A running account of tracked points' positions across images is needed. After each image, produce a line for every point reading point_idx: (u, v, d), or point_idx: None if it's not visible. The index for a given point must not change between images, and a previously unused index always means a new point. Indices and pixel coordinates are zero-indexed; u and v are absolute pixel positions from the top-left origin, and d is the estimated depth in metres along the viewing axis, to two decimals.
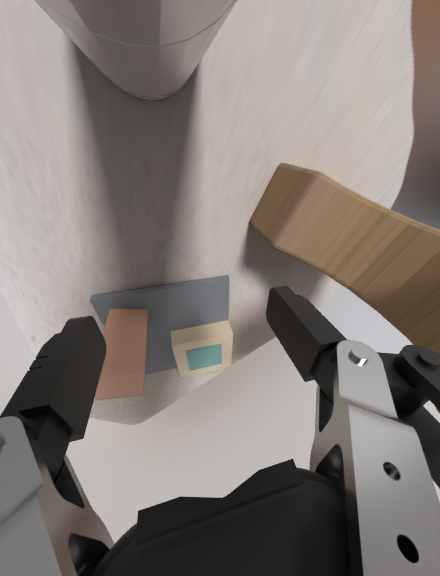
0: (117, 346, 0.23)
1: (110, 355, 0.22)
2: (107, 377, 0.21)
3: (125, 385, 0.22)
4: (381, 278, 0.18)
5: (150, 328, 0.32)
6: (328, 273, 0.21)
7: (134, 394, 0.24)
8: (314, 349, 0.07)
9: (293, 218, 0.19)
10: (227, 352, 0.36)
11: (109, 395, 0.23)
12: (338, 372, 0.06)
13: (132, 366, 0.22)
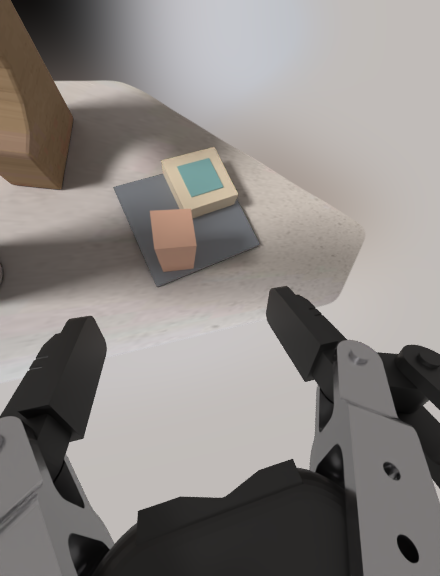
0: None
1: None
2: (158, 238, 0.24)
3: (171, 223, 0.24)
4: None
5: None
6: (19, 96, 0.25)
7: (189, 215, 0.25)
8: (314, 349, 0.07)
9: (1, 149, 0.26)
10: (191, 157, 0.35)
11: (189, 235, 0.24)
12: (338, 372, 0.06)
13: None
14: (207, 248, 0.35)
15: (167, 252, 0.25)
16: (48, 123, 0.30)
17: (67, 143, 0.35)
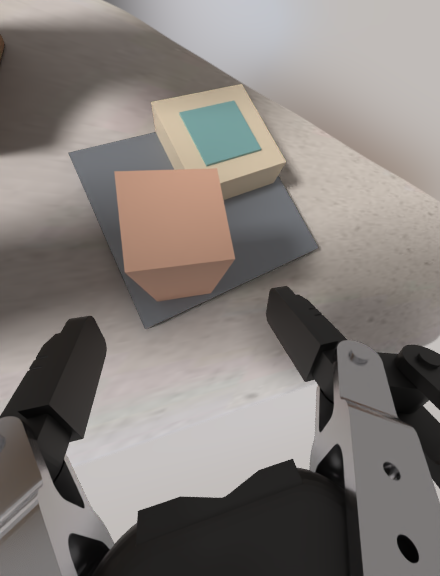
0: None
1: None
2: (135, 242, 0.09)
3: (171, 204, 0.10)
4: None
5: None
6: None
7: (213, 184, 0.10)
8: (314, 349, 0.07)
9: None
10: (203, 98, 0.20)
11: (215, 233, 0.10)
12: (338, 372, 0.06)
13: None
14: None
15: (161, 275, 0.10)
16: None
17: None
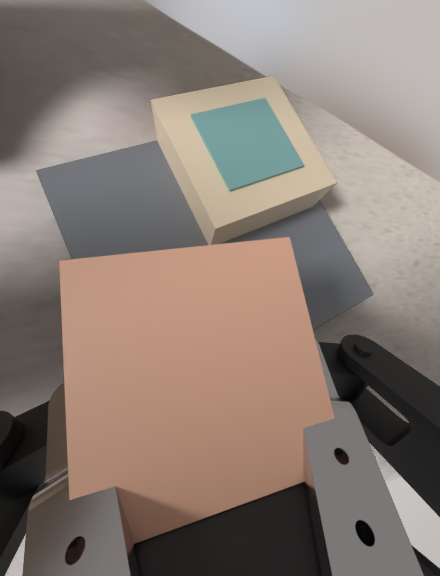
0: None
1: None
2: (106, 458, 0.03)
3: (195, 336, 0.04)
4: None
5: None
6: None
7: (285, 275, 0.05)
8: None
9: None
10: (223, 95, 0.14)
11: (298, 400, 0.04)
12: None
13: None
14: None
15: None
16: None
17: None
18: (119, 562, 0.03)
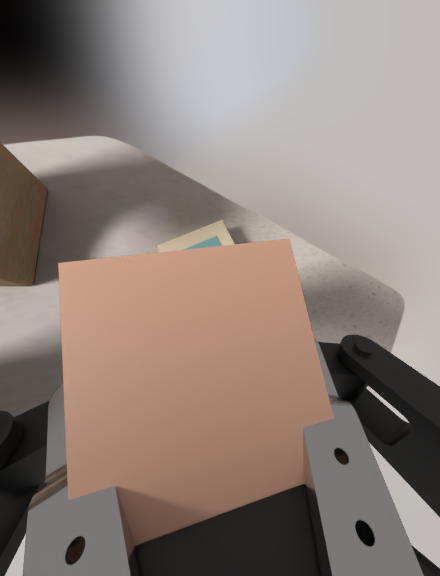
0: None
1: None
2: (104, 462, 0.03)
3: (194, 338, 0.04)
4: None
5: None
6: None
7: (285, 277, 0.05)
8: None
9: None
10: (193, 236, 0.28)
11: (297, 402, 0.04)
12: None
13: None
14: None
15: None
16: (9, 215, 0.23)
17: (39, 224, 0.28)
18: (119, 562, 0.03)
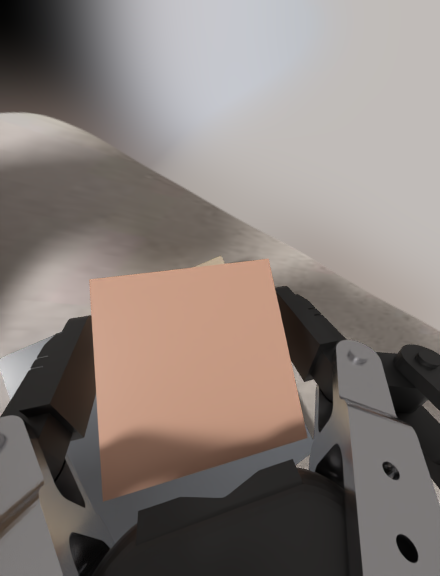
0: None
1: None
2: (125, 427, 0.05)
3: (192, 337, 0.05)
4: None
5: None
6: None
7: (264, 289, 0.06)
8: (313, 349, 0.07)
9: None
10: None
11: (271, 387, 0.05)
12: (337, 372, 0.06)
13: None
14: (209, 483, 0.16)
15: None
16: None
17: None
18: None
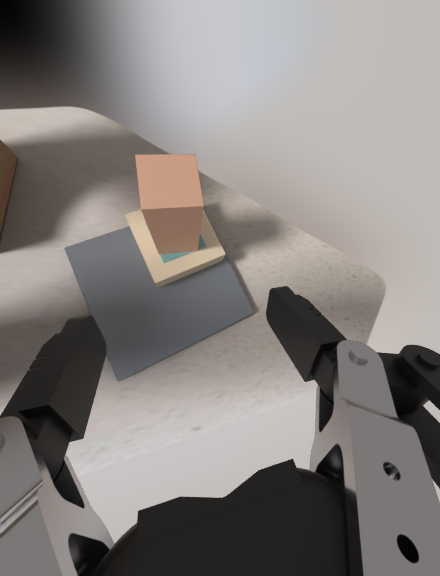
0: None
1: None
2: (146, 193, 0.16)
3: (167, 174, 0.17)
4: None
5: (155, 311, 0.27)
6: None
7: (192, 163, 0.17)
8: (314, 349, 0.07)
9: None
10: None
11: (192, 191, 0.17)
12: (338, 372, 0.06)
13: None
14: (186, 323, 0.27)
15: (161, 217, 0.17)
16: None
17: (6, 191, 0.27)
18: None
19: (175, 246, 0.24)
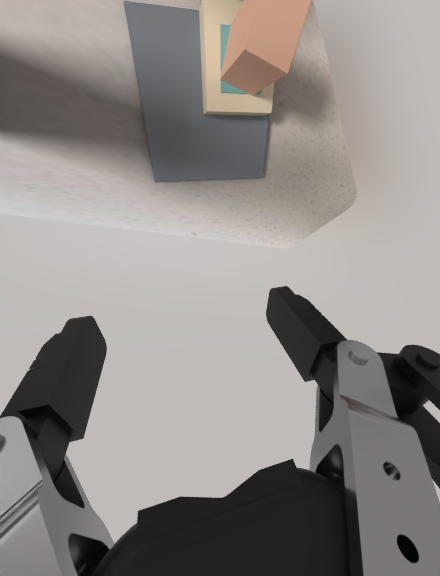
0: (239, 37, 0.21)
1: (241, 40, 0.20)
2: (255, 31, 0.18)
3: (279, 14, 0.18)
4: None
5: (194, 137, 0.32)
6: None
7: (303, 12, 0.18)
8: (314, 349, 0.07)
9: None
10: None
11: (288, 50, 0.20)
12: (338, 372, 0.06)
13: None
14: (214, 161, 0.35)
15: (252, 61, 0.20)
16: None
17: None
18: None
19: (239, 82, 0.26)
